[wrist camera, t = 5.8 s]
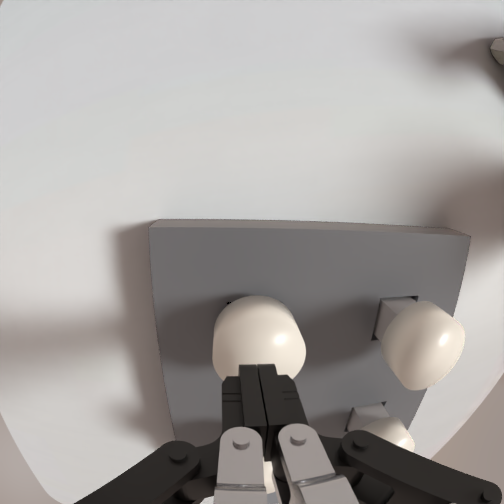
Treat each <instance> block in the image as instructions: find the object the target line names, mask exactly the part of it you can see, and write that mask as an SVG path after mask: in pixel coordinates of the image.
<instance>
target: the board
mask: <svg viewBox="0 0 504 504" xmlns="http://www.w3.org/2000/svg"><path fill="white" fill-rule="evenodd" d="M148 228H149V249H150V265H151V278H152V290H153V300H154V310H155V319H156V328H157V336H158V343H159V350H160V357H161V364H162V370H163V377H164V383H165V388H166V394H167V399H168V405H169V410H170V415H171V420H172V424H173V429H174V434H175V438H176V441H185V442H188V443H190V444H192V445H194V446H195V447H199V446H203V445H207V444H210V443H212V442H214V441H215V440H217V439H218V438H219V436H220V435H221V433H222V383H223V380H222V379H221V378H220V377H219V375H218V374H217V373H216V370H215V368H214V365H213V360H212V355H213V338H214V326H215V322H216V320H217V318H218V316H219V314H220V313H221V312H222V310H223V309H224V308H225V307H226V306H227V302H234V301H235V300H238V299H240V298H243V297H247V296H255V295H259V296H267V297H271V298H274V299H276V300H278V301H280V302H281V303H283V304H284V305H285V306H286V307H287V308H288V309H289V310H290V312H291V313H292V315H293V317H294V320H295V322H296V324H297V326H298V329H299V331H300V333H301V336H302V338H303V340H304V343H305V347H306V357H305V361H304V364H303V366H302V368H301V370H300V371H299V372H298V374H297V375H296V376H295V377H294V378H293V379H292V380H293V381H294V382H295V384H296V388H297V392H298V394H299V397H300V400H301V403H302V406H303V409H304V412H305V415H306V418H307V421H308V424H309V426H310V427H311V428H313V429H314V430H315V431H316V432H317V434H319V435H322V436H325V437H333V438H343V437H344V435H346V434H347V433H348V432H349V431H348V429H347V426H346V424H347V422H348V419H349V416H350V413H351V410H352V407H358V406H364V405H369V404H374V403H379V402H381V403H382V405H383V406H384V408H385V409H386V411H387V413H388V414H389V416H390V417H396V418H398V419H400V420H401V422H402V423H403V425H404V427H405V428H406V430H408V428H409V426H410V424H411V422H412V420H413V418H414V416H415V414H416V412H417V410H418V408H419V406H420V404H421V401H422V399H423V397H424V395H425V392H426V390H427V388H425V389H422V390H409V389H407V388H406V387H404V386H403V384H402V383H401V382H400V380H399V379H398V378H397V376H396V375H395V374H394V372H393V371H392V370H391V368H390V367H389V366H388V364H387V363H386V362H385V360H384V359H383V357H382V353H381V342H380V341H379V339H378V338H377V337H376V336H375V335H374V333H373V330H374V326H375V321H376V317H377V312H378V307H379V302H380V298H389V297H404V296H410V297H411V298H412V299H414V300H415V301H416V302H420V301H429V302H432V303H434V304H435V305H437V306H438V307H439V308H441V309H442V310H443V311H445V312H446V313H447V314H449V315H450V316H451V317H453V315H454V311H455V308H456V304H457V300H458V296H459V292H460V288H461V284H462V280H463V275H464V271H465V266H466V261H467V256H468V250H469V244H470V238H471V236H468V235H466V234H463V233H460V232H457V231H455V230H452V229H447V228H433V227H418V226H402V225H384V224H365V223H343V222H317V221H285V220H235V219H159V220H157V221H156V222H155V223H154V224H152V225H151V226H150V227H148Z"/></svg>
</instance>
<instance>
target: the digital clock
mask: <svg viewBox="0 0 504 504" xmlns="http://www.w3.org/2000/svg"><path fill="white" fill-rule="evenodd" d="M490 49H491V53H492V55H493V57H494V58H495V59H496V60H497V61H498V63H500V64H501V65H504V38H498V39H494V41H493V43H492V45H491V47H490Z"/></svg>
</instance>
